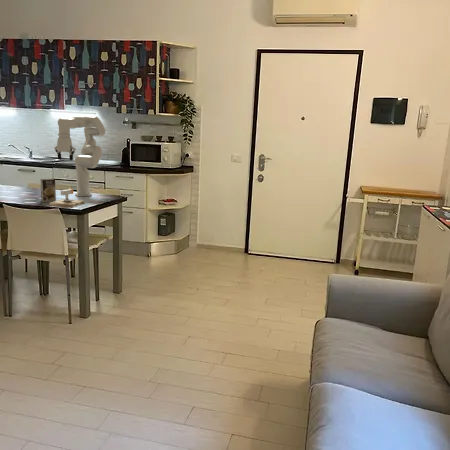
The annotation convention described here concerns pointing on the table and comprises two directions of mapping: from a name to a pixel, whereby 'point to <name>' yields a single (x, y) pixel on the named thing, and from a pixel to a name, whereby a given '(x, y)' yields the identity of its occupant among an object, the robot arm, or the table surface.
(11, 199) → the table surface
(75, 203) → the key plate
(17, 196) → the table surface
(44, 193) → the coffee box
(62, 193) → the t key
